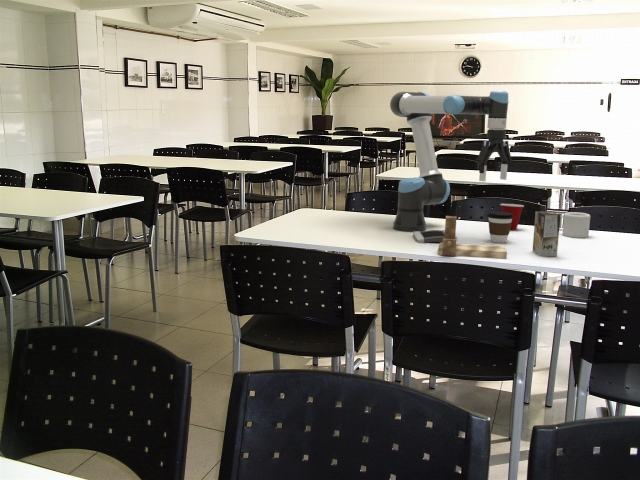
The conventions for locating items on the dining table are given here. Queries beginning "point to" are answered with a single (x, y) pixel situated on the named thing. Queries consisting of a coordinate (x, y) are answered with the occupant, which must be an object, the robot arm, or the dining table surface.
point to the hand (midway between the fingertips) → (492, 180)
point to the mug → (576, 225)
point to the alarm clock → (430, 236)
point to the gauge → (450, 237)
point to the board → (478, 250)
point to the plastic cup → (515, 211)
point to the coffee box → (546, 233)
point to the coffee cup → (499, 225)
